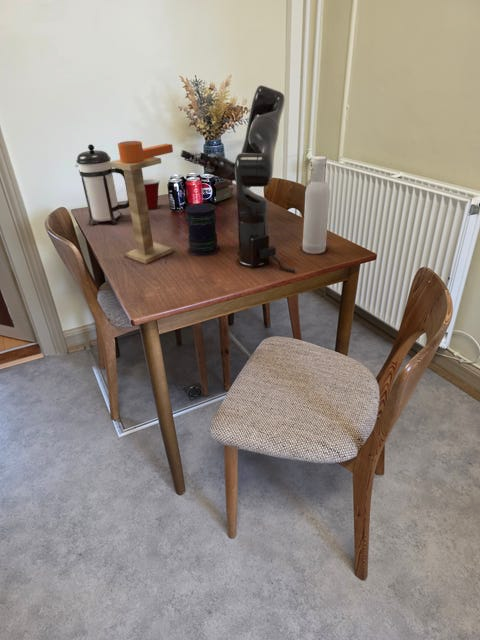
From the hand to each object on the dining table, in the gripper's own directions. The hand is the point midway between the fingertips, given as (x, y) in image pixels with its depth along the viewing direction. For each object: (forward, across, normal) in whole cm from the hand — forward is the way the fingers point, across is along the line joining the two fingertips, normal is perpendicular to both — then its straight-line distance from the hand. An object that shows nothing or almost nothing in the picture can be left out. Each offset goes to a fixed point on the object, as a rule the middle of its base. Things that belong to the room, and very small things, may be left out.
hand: (190, 154), depth 145 cm
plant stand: (+10, 0, +36) cm, 37 cm away
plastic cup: (-24, -40, +21) cm, 51 cm away
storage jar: (-2, +13, +31) cm, 33 cm away
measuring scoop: (+18, 0, +6) cm, 19 cm away
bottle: (-20, +45, +22) cm, 54 cm away
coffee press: (-4, -42, +30) cm, 52 cm away
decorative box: (-44, -20, +11) cm, 50 cm away
